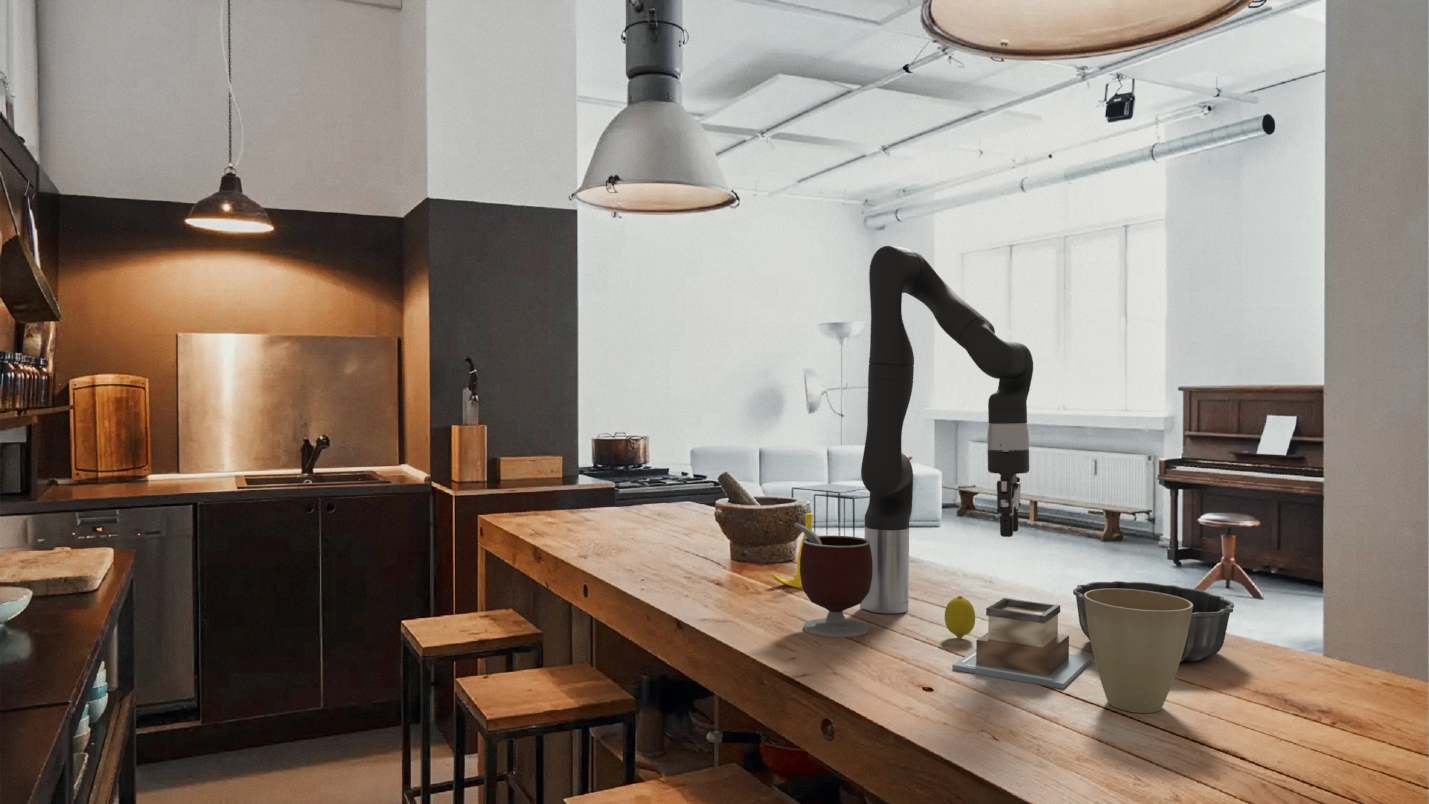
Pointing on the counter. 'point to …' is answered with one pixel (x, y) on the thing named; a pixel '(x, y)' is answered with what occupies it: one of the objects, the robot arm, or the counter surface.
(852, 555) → the mate gourd
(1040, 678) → the board
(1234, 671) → the counter surface
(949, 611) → the lemon
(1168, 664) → the plant pot
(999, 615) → the block tower
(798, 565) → the banana peel
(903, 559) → the robot arm
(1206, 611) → the bundt pan
